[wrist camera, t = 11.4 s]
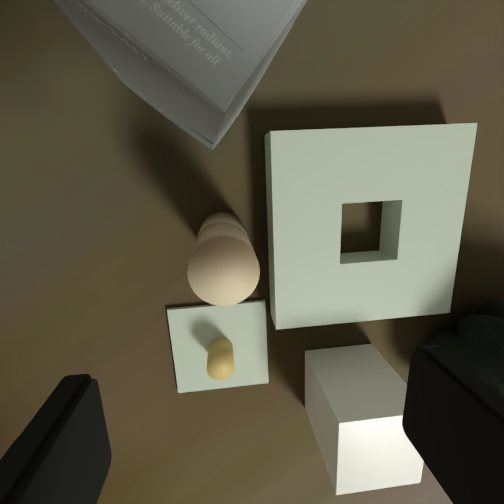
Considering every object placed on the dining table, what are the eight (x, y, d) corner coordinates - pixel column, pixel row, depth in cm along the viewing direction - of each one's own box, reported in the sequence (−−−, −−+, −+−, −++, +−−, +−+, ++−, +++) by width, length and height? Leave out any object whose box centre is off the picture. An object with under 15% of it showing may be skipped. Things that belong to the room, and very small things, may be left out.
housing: (367, 399, 33) (420, 482, 24) (304, 407, 32) (336, 495, 23) (371, 343, 31) (430, 411, 22) (304, 350, 30) (339, 423, 22)
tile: (267, 380, 31) (273, 405, 27) (178, 390, 30) (173, 417, 27) (264, 299, 28) (270, 316, 25) (167, 308, 27) (160, 326, 24)
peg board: (427, 298, 30) (449, 312, 27) (270, 313, 29) (276, 329, 26) (448, 128, 26) (477, 122, 23) (264, 135, 24) (270, 131, 21)
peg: (246, 255, 27) (261, 302, 17) (201, 258, 27) (191, 309, 17) (244, 210, 26) (258, 235, 16) (197, 213, 25) (183, 240, 16)
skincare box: (123, 85, 22) (-81, -92, 7) (175, -3, 21) (67, -432, 6) (216, 156, 24) (211, 135, 9) (269, 79, 23) (362, -89, 8)
